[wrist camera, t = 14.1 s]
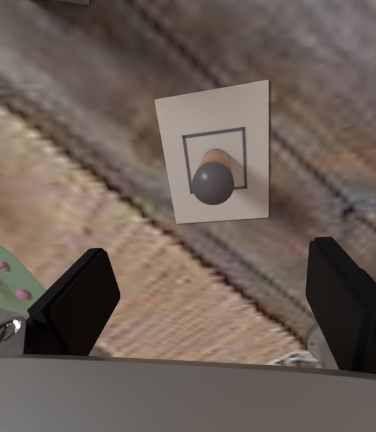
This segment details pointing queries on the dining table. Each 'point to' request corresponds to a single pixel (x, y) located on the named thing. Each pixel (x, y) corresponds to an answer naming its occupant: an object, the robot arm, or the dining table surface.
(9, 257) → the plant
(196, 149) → the paper sheet
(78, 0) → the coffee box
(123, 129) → the dining table surface
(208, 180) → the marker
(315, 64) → the dining table surface
